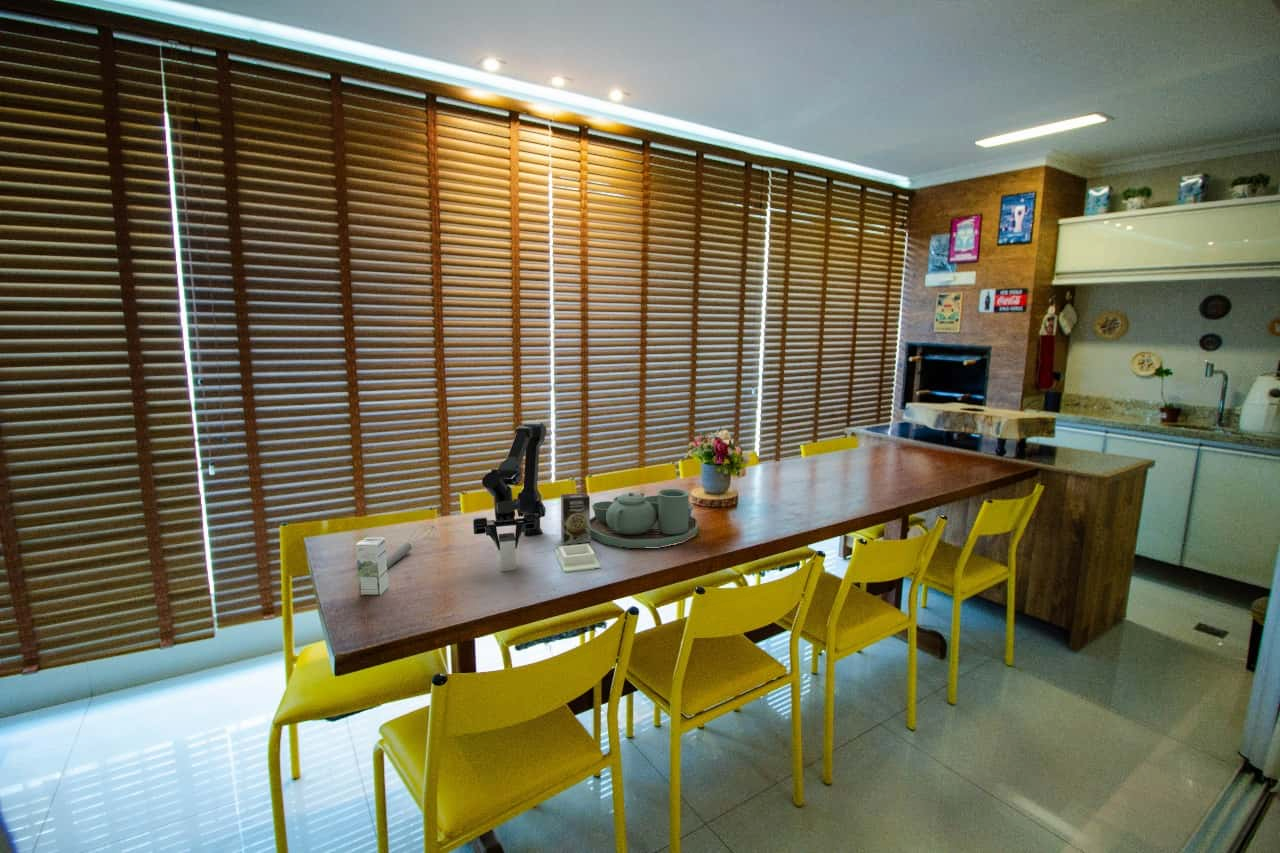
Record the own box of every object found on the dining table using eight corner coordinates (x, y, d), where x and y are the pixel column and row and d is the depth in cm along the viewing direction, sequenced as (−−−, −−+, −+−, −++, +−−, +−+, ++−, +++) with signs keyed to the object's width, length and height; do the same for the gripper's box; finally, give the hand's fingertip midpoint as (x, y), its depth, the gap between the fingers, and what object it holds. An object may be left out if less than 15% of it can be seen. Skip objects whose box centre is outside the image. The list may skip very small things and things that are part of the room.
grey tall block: (499, 565, 172) (498, 534, 170) (514, 564, 173) (513, 532, 172) (500, 571, 168) (499, 538, 166) (516, 569, 169) (515, 537, 168)
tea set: (696, 516, 223) (697, 475, 220) (697, 552, 183) (698, 503, 181) (596, 514, 226) (596, 473, 224) (576, 549, 187) (575, 500, 185)
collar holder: (554, 551, 183) (554, 542, 183) (587, 548, 187) (587, 539, 186) (564, 572, 166) (564, 562, 166) (600, 568, 170) (600, 558, 169)
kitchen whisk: (368, 573, 167) (367, 553, 166) (425, 536, 200) (424, 519, 199) (388, 574, 166) (387, 553, 165) (441, 537, 199) (440, 519, 198)
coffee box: (563, 545, 189) (562, 498, 187) (561, 539, 195) (560, 493, 193) (590, 543, 192) (589, 496, 189) (587, 537, 198) (586, 492, 196)
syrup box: (389, 586, 157) (385, 536, 155) (380, 595, 151) (376, 543, 149) (368, 587, 157) (364, 536, 155) (358, 596, 151) (354, 544, 149)
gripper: (471, 491, 167) (474, 539, 158) (535, 487, 173) (541, 533, 164) (472, 510, 176) (474, 557, 167) (533, 505, 181) (538, 550, 172)
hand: (507, 549), depth 167 cm, fingers closed on grey tall block, 4 cm apart
